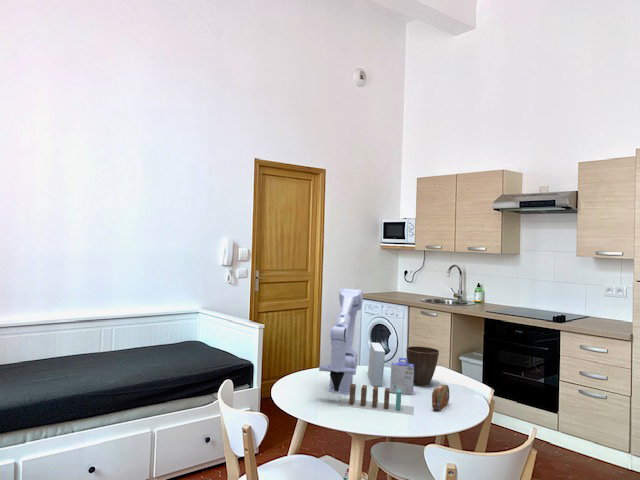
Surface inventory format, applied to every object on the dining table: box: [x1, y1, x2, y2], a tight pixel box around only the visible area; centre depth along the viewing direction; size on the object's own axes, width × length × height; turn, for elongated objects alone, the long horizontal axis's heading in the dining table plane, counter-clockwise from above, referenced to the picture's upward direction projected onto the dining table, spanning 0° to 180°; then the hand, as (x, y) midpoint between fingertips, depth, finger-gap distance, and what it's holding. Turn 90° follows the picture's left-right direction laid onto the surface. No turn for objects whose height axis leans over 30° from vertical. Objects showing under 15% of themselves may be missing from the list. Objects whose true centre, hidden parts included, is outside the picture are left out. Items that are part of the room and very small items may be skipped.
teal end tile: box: [395, 389, 402, 411], centre depth 190 cm, size 2×4×7 cm, turn 167°
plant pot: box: [406, 345, 440, 387], centre depth 228 cm, size 15×15×16 cm
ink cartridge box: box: [389, 357, 415, 396], centre depth 214 cm, size 10×6×14 cm, turn 78°
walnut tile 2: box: [360, 384, 368, 406], centre depth 193 cm, size 2×4×7 cm, turn 167°
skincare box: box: [367, 342, 386, 387], centre depth 231 cm, size 21×5×16 cm, turn 179°
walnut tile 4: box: [383, 387, 391, 409], centre depth 191 cm, size 2×4×7 cm, turn 167°
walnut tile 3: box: [371, 386, 379, 408], centre depth 192 cm, size 2×4×7 cm, turn 167°
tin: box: [431, 384, 450, 412], centre depth 195 cm, size 15×3×8 cm, turn 148°
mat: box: [336, 397, 415, 416], centre depth 192 cm, size 29×10×1 cm, turn 77°
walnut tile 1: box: [348, 383, 357, 405], centre depth 194 cm, size 2×4×7 cm, turn 167°
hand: (336, 390), depth 195 cm, fingers closed
